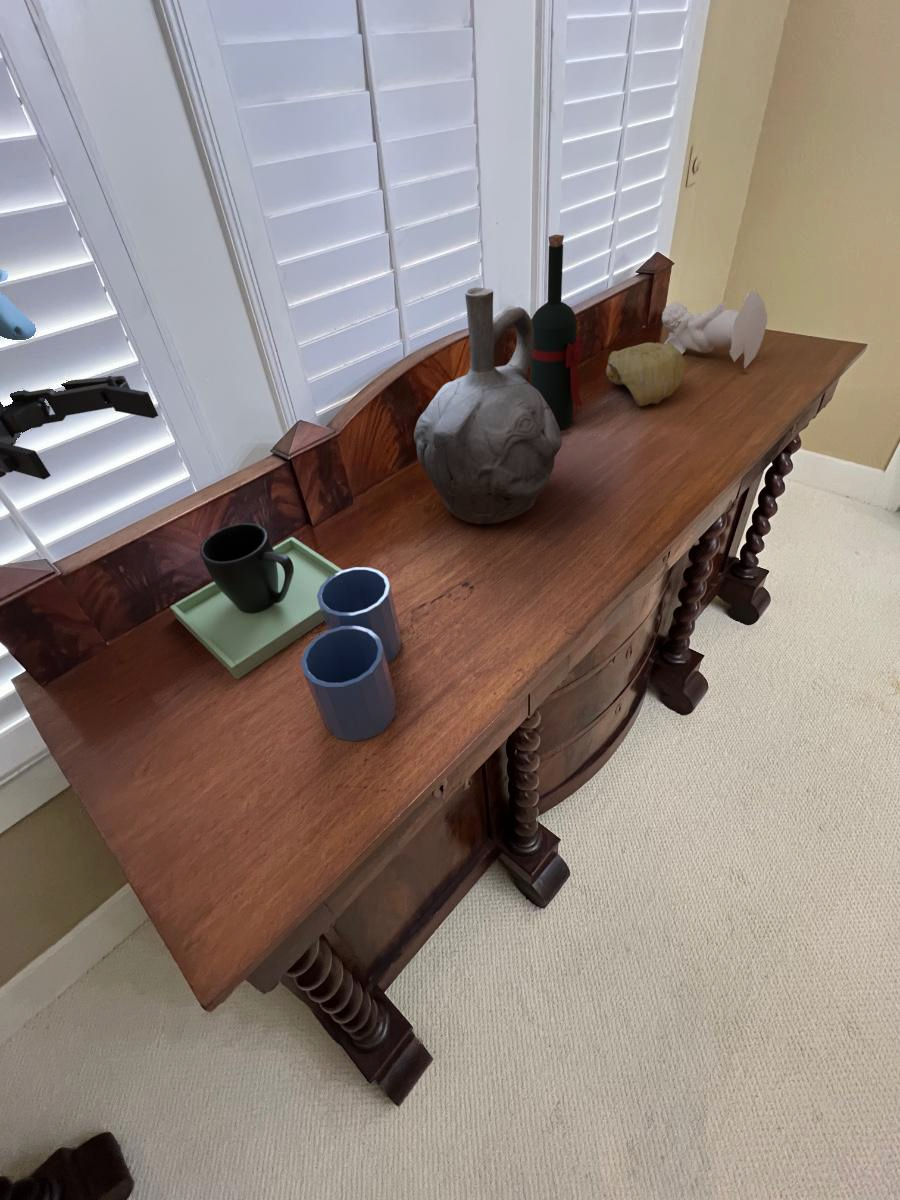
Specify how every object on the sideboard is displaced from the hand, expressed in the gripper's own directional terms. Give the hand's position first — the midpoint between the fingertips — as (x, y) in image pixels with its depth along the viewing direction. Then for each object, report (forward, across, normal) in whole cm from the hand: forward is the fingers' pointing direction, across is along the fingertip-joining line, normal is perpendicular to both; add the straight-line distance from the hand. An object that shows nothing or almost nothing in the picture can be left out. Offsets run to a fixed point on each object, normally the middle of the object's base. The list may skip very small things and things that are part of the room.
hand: (99, 433), depth 60 cm
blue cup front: (+29, +4, -26) cm, 39 cm away
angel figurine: (+45, -102, -26) cm, 115 cm away
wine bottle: (+26, -65, -26) cm, 75 cm away
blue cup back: (+25, -4, -26) cm, 36 cm away
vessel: (+26, -38, -26) cm, 53 cm away
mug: (+9, -5, -26) cm, 27 cm away
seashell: (+37, -81, -26) cm, 93 cm away
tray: (+9, -5, -26) cm, 28 cm away
